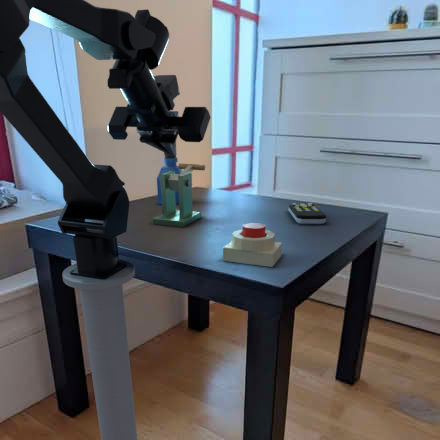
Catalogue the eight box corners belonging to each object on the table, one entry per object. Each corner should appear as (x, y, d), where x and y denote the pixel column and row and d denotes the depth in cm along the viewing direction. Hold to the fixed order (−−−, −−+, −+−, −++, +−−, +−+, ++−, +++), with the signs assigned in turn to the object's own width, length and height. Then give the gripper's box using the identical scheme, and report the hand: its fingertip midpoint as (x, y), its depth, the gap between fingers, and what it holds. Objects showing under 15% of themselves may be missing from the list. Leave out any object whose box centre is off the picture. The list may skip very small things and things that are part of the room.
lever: (181, 170, 94) (179, 159, 92) (206, 171, 92) (204, 161, 90) (161, 189, 87) (159, 178, 85) (187, 191, 85) (186, 180, 83)
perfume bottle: (158, 204, 104) (155, 153, 99) (162, 199, 110) (159, 151, 105) (182, 204, 104) (181, 154, 99) (185, 199, 110) (184, 151, 105)
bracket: (172, 214, 94) (170, 169, 90) (201, 217, 92) (200, 171, 88) (153, 224, 86) (150, 175, 82) (183, 227, 84) (182, 177, 80)
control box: (271, 268, 63) (273, 242, 61) (222, 261, 65) (222, 236, 64) (281, 255, 68) (283, 231, 67) (235, 249, 71) (236, 226, 69)
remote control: (297, 225, 86) (298, 215, 85) (287, 211, 98) (287, 202, 97) (327, 225, 86) (328, 215, 85) (313, 211, 98) (314, 202, 97)
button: (261, 240, 63) (262, 229, 63) (239, 238, 65) (239, 227, 64) (267, 234, 66) (268, 224, 66) (246, 232, 68) (246, 221, 67)
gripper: (205, 53, 69) (228, 123, 83) (109, 57, 75) (145, 121, 89) (186, 105, 65) (213, 169, 79) (87, 105, 71) (128, 164, 85)
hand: (173, 154), depth 83 cm, fingers closed
